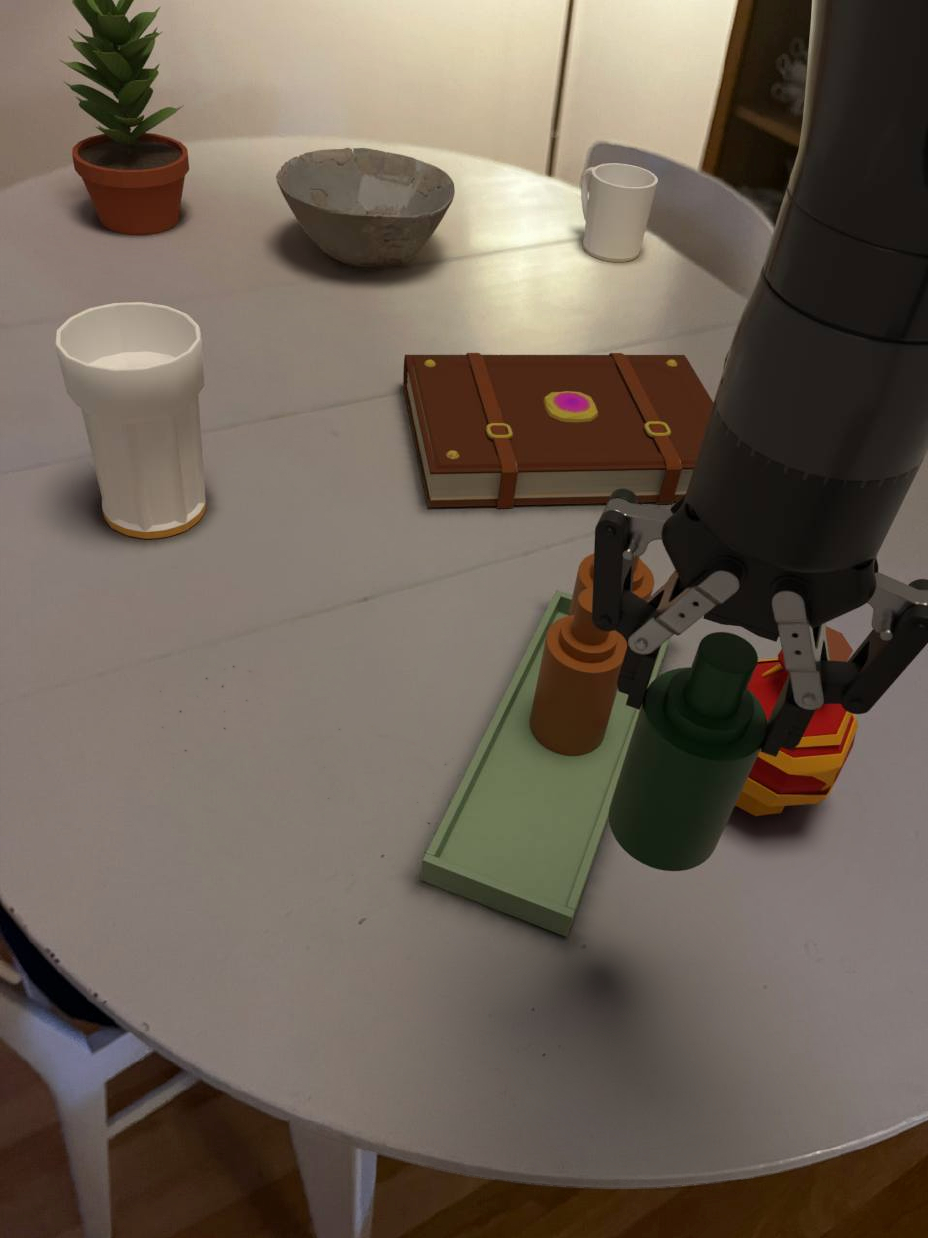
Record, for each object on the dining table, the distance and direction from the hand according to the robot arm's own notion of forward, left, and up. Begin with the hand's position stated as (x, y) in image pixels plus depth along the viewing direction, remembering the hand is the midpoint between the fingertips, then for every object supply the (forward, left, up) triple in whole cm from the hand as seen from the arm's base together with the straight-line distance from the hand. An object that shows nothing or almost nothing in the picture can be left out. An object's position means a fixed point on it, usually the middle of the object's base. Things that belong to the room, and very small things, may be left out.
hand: (703, 717), depth 48 cm
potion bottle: (+9, -17, -24) cm, 31 cm away
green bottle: (0, 0, -9) cm, 9 cm away
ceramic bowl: (+101, -20, -24) cm, 106 cm away
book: (+54, -25, -24) cm, 64 cm away
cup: (+55, +17, -24) cm, 62 cm away
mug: (+96, -54, -24) cm, 113 cm away
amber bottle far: (+24, -12, -23) cm, 35 cm away
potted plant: (+119, +6, -24) cm, 121 cm away
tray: (+17, -5, -24) cm, 30 cm away
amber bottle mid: (+18, -6, -23) cm, 30 cm away
